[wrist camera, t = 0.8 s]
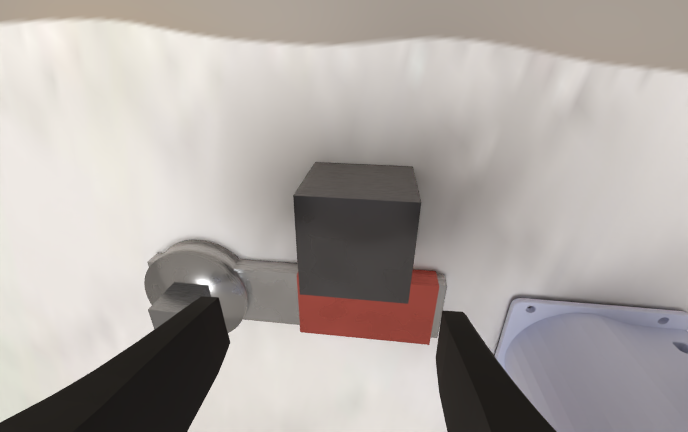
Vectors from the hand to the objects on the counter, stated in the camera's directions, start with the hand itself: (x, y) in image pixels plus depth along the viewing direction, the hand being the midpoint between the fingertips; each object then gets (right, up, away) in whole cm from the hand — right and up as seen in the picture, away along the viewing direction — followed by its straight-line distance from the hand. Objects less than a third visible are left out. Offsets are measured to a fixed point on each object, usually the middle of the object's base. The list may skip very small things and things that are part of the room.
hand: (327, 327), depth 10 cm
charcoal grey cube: (+2, +4, +7) cm, 8 cm away
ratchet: (-2, -1, +10) cm, 11 cm away
